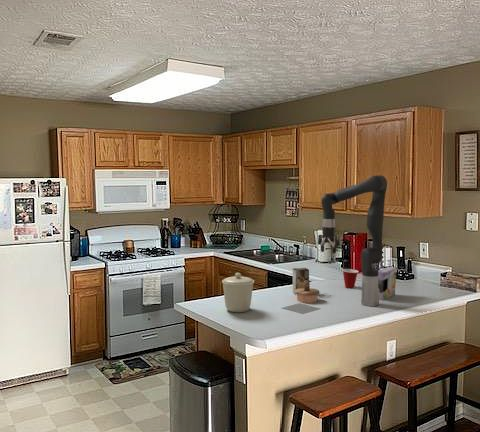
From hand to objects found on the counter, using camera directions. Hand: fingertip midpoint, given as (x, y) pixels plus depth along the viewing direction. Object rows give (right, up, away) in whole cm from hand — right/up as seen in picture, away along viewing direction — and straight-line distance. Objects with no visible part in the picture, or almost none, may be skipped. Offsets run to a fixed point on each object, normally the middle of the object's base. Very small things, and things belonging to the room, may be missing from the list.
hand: (328, 252), depth 302 cm
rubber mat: (-20, -30, -24) cm, 43 cm away
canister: (-55, -30, -27) cm, 68 cm away
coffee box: (-15, -27, +13) cm, 34 cm away
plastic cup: (+20, -26, +30) cm, 45 cm away
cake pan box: (+36, -28, +4) cm, 46 cm away
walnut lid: (-14, -24, -5) cm, 28 cm away
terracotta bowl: (-14, -29, -5) cm, 32 cm away
